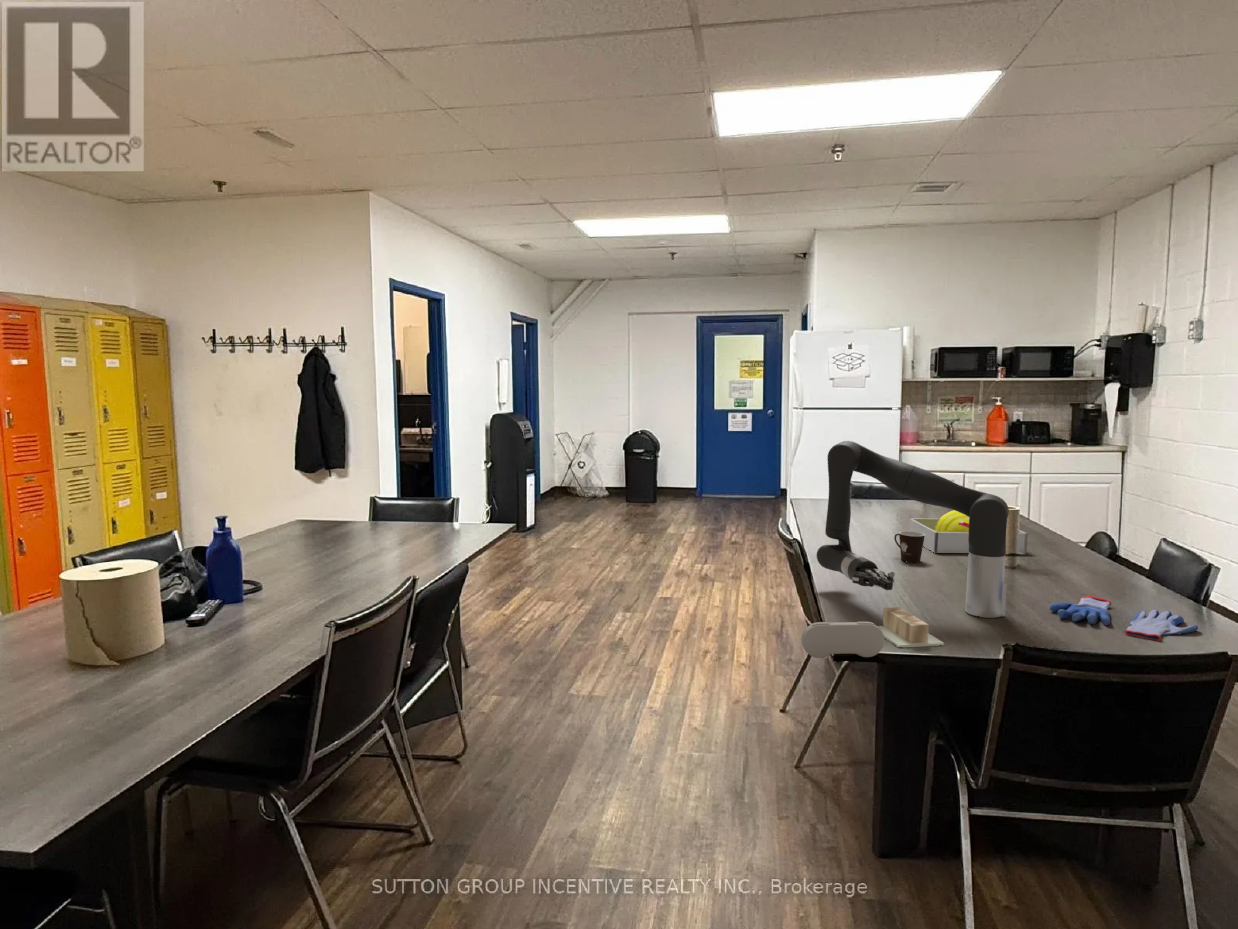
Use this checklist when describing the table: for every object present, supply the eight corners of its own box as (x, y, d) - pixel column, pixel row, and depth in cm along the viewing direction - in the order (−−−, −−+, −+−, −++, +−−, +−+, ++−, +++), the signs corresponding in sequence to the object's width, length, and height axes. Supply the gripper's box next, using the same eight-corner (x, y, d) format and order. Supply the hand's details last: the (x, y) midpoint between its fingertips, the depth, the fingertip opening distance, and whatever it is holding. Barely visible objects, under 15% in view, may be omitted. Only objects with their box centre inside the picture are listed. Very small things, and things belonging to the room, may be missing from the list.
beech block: (899, 607, 196) (928, 624, 183) (898, 623, 197) (927, 642, 183) (883, 608, 196) (911, 625, 182) (882, 624, 196) (910, 643, 183)
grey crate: (991, 538, 304) (992, 519, 303) (1026, 554, 277) (1027, 533, 276) (907, 537, 306) (908, 518, 305) (934, 553, 278) (935, 532, 277)
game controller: (880, 653, 177) (881, 620, 176) (884, 657, 175) (885, 623, 174) (800, 655, 177) (801, 621, 176) (802, 658, 174) (803, 624, 174)
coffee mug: (927, 564, 262) (928, 536, 261) (902, 563, 263) (904, 536, 261) (914, 556, 274) (916, 529, 273) (891, 555, 274) (892, 529, 273)
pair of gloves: (1203, 626, 199) (1205, 613, 198) (1183, 650, 181) (1184, 635, 181) (1070, 600, 222) (1071, 588, 222) (1041, 618, 205) (1042, 606, 204)
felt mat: (871, 628, 195) (871, 626, 195) (913, 626, 197) (913, 624, 196) (898, 647, 181) (898, 645, 181) (943, 645, 183) (943, 643, 183)
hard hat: (919, 539, 302) (921, 503, 300) (989, 543, 295) (991, 506, 293) (925, 550, 283) (927, 512, 281) (999, 555, 276) (1002, 515, 274)
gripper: (838, 557, 212) (867, 573, 195) (881, 556, 214) (913, 571, 197) (837, 583, 213) (865, 601, 196) (879, 581, 215) (912, 599, 198)
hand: (889, 586), depth 197 cm, fingers closed
